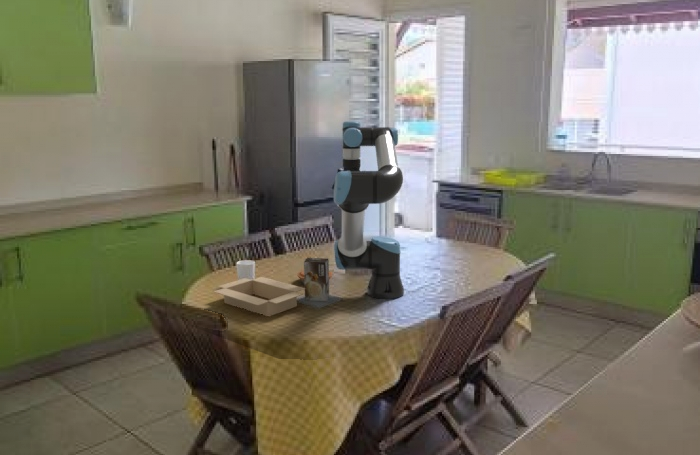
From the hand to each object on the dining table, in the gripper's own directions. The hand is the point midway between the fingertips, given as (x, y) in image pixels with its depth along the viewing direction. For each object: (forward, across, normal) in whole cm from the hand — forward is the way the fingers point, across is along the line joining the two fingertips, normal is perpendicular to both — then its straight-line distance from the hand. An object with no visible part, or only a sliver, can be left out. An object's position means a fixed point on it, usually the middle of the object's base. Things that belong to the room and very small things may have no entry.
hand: (351, 207), depth 272 cm
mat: (+33, -6, +29) cm, 44 cm away
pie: (+33, +12, +11) cm, 37 cm away
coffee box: (+32, -6, +29) cm, 44 cm away
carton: (+33, +8, +47) cm, 58 cm away
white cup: (+33, +32, +33) cm, 57 cm away
